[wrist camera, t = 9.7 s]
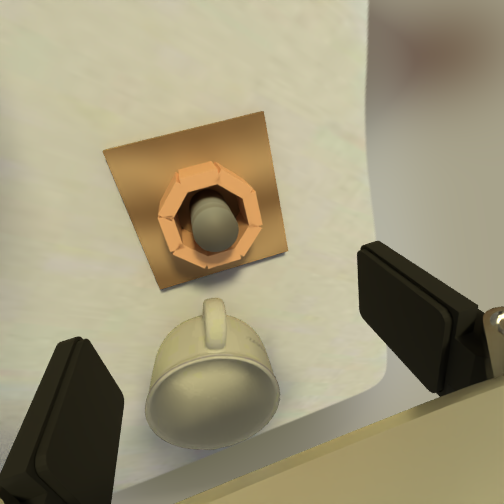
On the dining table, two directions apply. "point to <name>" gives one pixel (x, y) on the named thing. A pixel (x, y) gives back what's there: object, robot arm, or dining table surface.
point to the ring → (184, 240)
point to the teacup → (211, 382)
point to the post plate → (189, 151)
